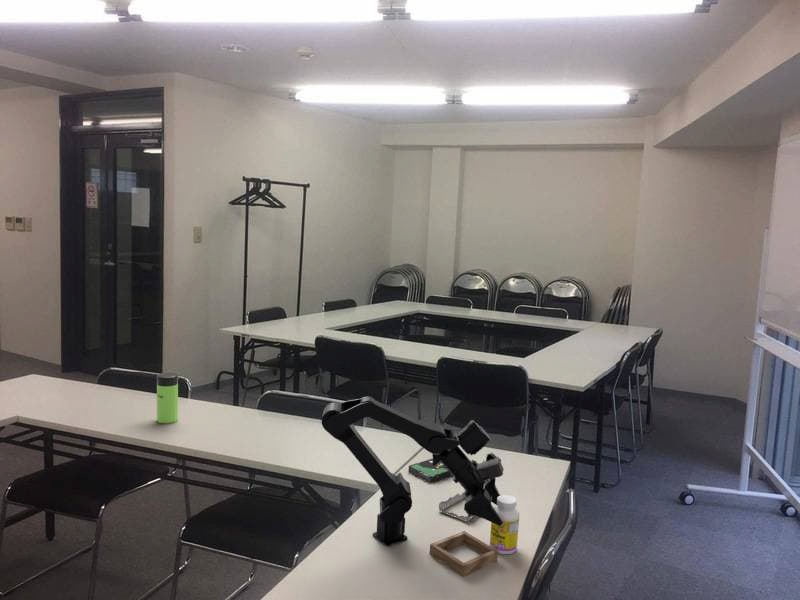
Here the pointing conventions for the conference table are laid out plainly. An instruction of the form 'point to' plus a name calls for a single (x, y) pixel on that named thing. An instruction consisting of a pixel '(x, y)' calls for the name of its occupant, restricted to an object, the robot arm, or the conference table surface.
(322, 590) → the conference table surface
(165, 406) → the tumbler
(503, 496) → the supplement bottle
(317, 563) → the conference table surface
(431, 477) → the disk drive
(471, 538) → the brown wooden square frame
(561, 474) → the conference table surface
